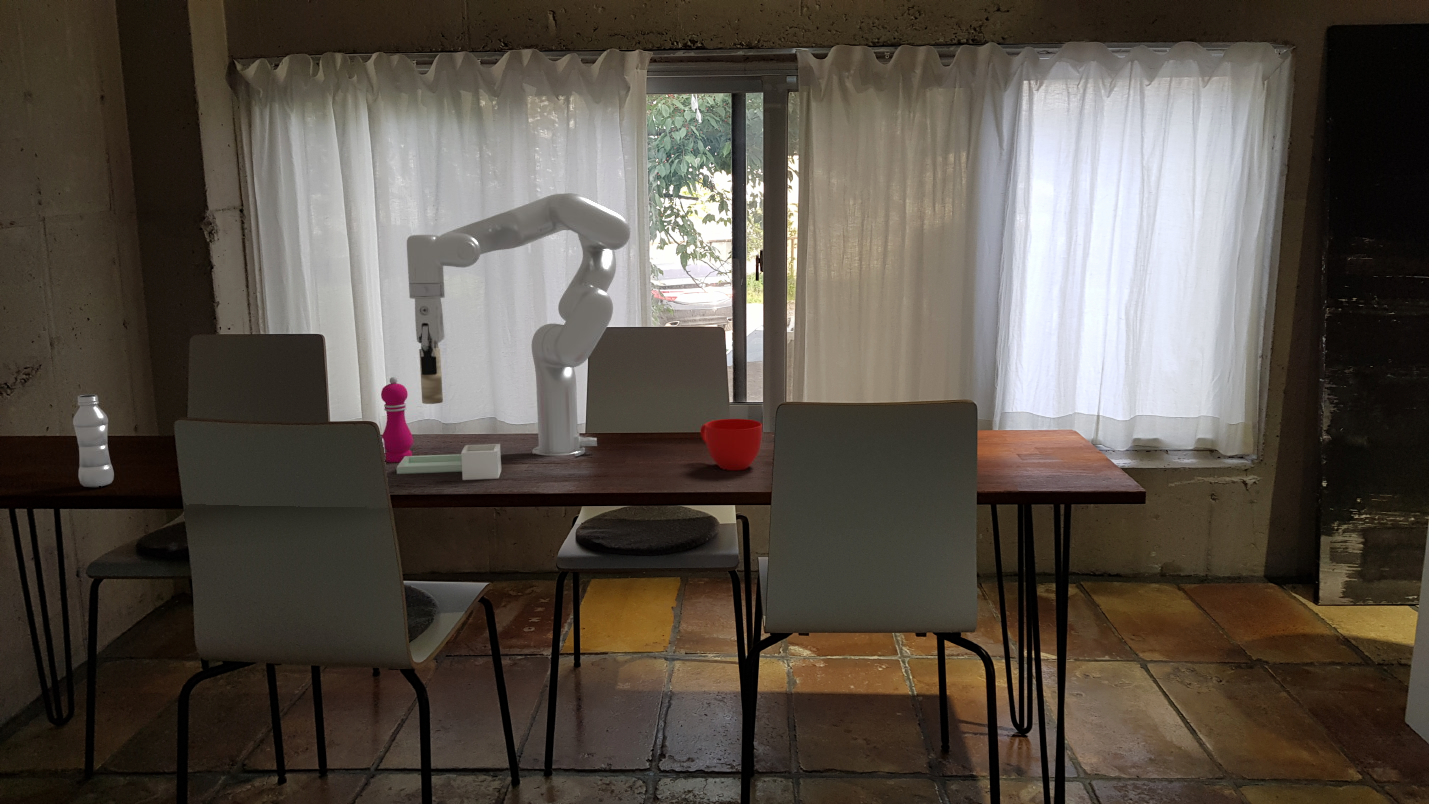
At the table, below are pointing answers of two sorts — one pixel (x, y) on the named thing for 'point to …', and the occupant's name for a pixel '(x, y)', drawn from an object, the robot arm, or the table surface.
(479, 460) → the box
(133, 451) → the table surface
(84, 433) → the plastic bottle
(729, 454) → the ceramic cup
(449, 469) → the tray
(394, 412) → the pepper mill
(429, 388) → the beige ringed cylinder
